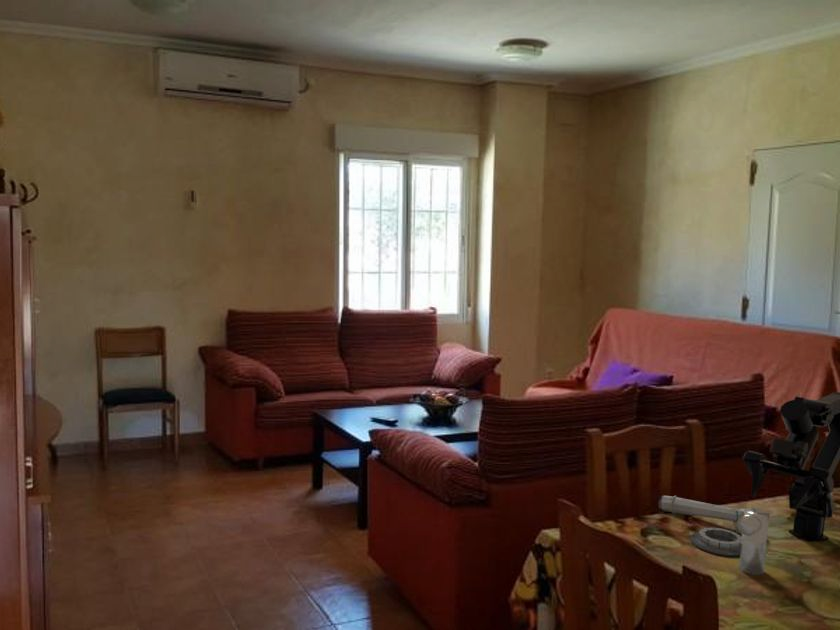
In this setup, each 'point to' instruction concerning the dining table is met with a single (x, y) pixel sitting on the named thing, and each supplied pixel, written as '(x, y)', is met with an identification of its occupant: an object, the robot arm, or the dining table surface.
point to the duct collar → (717, 541)
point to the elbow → (753, 540)
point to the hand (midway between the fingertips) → (773, 502)
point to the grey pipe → (700, 509)
